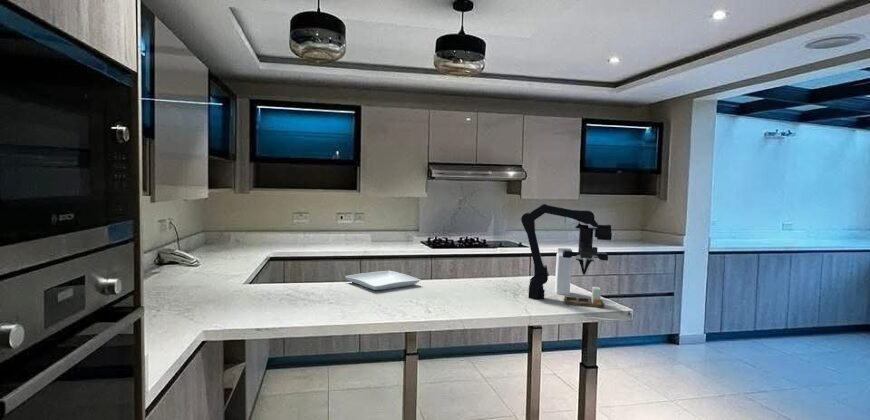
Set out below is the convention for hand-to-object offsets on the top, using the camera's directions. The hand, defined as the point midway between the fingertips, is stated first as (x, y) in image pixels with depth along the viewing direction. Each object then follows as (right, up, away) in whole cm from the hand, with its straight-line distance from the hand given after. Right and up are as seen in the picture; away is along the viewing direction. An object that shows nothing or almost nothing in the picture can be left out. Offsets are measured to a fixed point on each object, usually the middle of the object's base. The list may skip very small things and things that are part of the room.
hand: (583, 274), depth 209 cm
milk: (-5, -12, +17) cm, 22 cm away
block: (+4, -13, -2) cm, 13 cm away
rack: (0, -13, -1) cm, 13 cm away
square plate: (-91, -9, +25) cm, 95 cm away
